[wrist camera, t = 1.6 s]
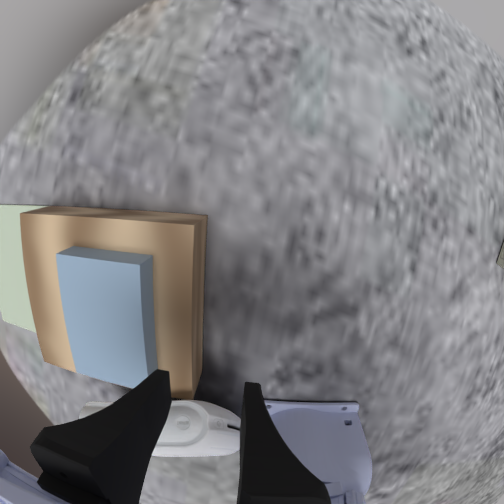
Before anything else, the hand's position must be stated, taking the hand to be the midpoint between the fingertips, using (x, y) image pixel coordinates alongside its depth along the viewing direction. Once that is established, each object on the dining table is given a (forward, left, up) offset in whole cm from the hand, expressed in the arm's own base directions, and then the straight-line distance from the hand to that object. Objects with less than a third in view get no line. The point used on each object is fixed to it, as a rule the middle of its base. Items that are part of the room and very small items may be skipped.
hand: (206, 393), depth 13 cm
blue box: (+8, 0, -6) cm, 10 cm away
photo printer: (+10, +13, -6) cm, 18 cm away
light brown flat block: (+9, 0, -10) cm, 13 cm away
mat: (+21, 0, -10) cm, 23 cm away
